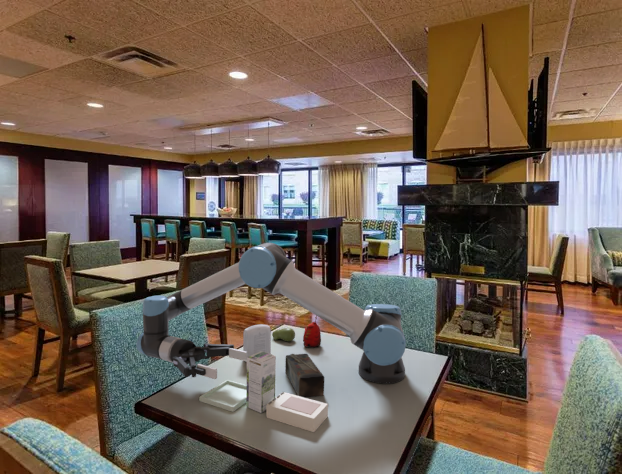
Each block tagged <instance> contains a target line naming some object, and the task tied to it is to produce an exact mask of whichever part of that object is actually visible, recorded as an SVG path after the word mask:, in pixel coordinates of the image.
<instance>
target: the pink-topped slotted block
mask: <svg viewBox="0 0 622 474" xmlns="http://www.w3.org/2000/svg"><path fill="white" fill-rule="evenodd" d="M328 415H329V403H326V402H323V401H319V400H314V399H310V398H309V397H300V396H298V395H296V394H292V393H288V392H285V391H282V392H280V393H279V394H277V396H275V398H274V399H273V400H272V401H270V402H269V403H268V404H267V405H266V419H270V420H273V421H276V422H280V423H283V424H286V425H289V426H293V427H295V428H298V429H301V430H305V431H308V432H312V433H315V432H316V431H317V430H318V428H319V427H320V426H321V425H322V424H323V423H324V422H325V420H326V419H327V418H328Z"/></svg>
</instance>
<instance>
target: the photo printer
mask: <svg viewBox="0 0 622 474" xmlns="http://www.w3.org/2000/svg"><path fill="white" fill-rule="evenodd" d="M271 330H272V329H271V327H270V325H268V324H264V323H263V324H262V323H260V324H255V325H251V326H248V327H247V328H245V329H244V330H243V332H242V333H243V336H242V337H243V340H242V341H243V343H242V348H243V350H242V351H246V352H248V357H249V356H251V355H253V354H256V353H258V352H260V351H263V352H267V353H270V354H271V353H272V349H271V345H272V343H271V342H272V341H271V340H272V333H271V332H272V331H271ZM244 362H245V363H247V361H244Z"/></svg>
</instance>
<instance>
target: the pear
mask: <svg viewBox="0 0 622 474" xmlns="http://www.w3.org/2000/svg"><path fill="white" fill-rule="evenodd" d="M271 337H272V340H274V341H277V340H280V339H281V340H283V341H284V342H292V341H294V340H295V337H296V332H295V330H294V329H293V328H290V327H283V328H281V329H275V330H274V331H272V333H271Z"/></svg>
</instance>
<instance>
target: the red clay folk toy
mask: <svg viewBox="0 0 622 474" xmlns="http://www.w3.org/2000/svg"><path fill="white" fill-rule="evenodd" d="M314 318H315V321H313V322H311V323H309V324H307V325H306V327H304V333H303V339H302V341H303V345H304V347H305V348H316V347H319V346H321V343H322V338H321V337H322V335H321V334H322V332H321V329H320V326H319V325H318V323H317V319H318V316H317V315H315V316H314Z"/></svg>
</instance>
